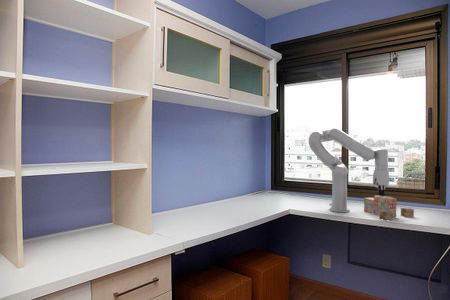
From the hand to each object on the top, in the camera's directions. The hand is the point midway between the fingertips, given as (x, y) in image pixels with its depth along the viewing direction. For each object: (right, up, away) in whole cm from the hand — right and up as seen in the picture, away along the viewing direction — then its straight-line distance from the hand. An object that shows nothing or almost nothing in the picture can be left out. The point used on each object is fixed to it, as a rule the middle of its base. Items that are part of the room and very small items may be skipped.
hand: (381, 195), depth 193 cm
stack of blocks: (-1, -13, +1) cm, 13 cm away
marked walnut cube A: (-4, -12, -13) cm, 19 cm away
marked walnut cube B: (+14, -12, -5) cm, 19 cm away
